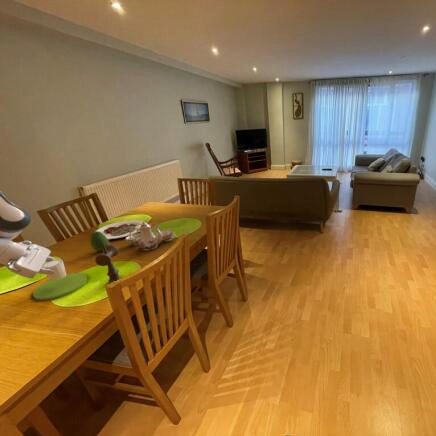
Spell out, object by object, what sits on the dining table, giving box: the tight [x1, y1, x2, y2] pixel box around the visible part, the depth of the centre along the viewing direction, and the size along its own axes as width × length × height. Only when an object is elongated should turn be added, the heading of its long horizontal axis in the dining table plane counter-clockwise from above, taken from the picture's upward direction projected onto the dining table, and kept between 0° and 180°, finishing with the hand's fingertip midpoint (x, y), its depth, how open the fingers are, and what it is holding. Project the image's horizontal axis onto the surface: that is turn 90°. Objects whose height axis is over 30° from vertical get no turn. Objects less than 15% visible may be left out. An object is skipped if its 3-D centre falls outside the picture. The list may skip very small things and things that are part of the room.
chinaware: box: [123, 221, 177, 252], centre depth 141 cm, size 28×17×17 cm, turn 113°
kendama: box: [95, 243, 123, 284], centre depth 107 cm, size 6×10×20 cm, turn 17°
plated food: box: [94, 219, 147, 240], centre depth 161 cm, size 30×30×3 cm
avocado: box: [90, 230, 110, 252], centre depth 135 cm, size 8×8×12 cm
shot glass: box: [42, 258, 67, 281], centre depth 104 cm, size 7×7×7 cm
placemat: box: [32, 272, 88, 301], centre depth 107 cm, size 18×18×1 cm
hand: (56, 268), depth 104 cm, fingers closed on shot glass, 7 cm apart
